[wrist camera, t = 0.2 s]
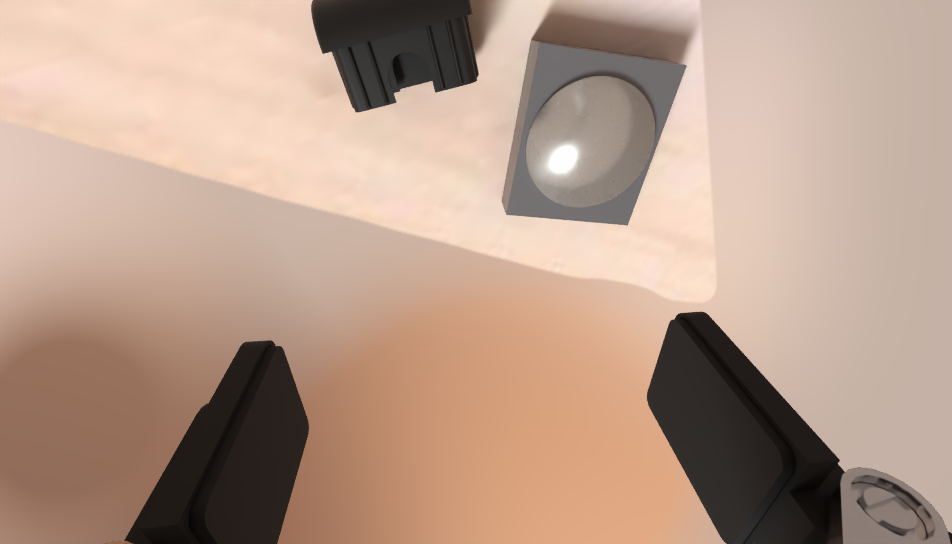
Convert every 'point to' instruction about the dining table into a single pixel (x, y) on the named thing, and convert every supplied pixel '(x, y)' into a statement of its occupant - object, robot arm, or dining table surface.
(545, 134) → the grey domed push button
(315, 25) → the end cap
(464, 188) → the dining table surface
